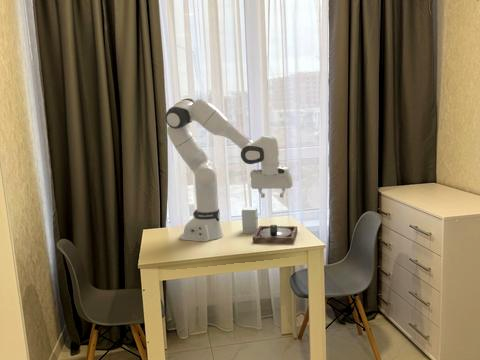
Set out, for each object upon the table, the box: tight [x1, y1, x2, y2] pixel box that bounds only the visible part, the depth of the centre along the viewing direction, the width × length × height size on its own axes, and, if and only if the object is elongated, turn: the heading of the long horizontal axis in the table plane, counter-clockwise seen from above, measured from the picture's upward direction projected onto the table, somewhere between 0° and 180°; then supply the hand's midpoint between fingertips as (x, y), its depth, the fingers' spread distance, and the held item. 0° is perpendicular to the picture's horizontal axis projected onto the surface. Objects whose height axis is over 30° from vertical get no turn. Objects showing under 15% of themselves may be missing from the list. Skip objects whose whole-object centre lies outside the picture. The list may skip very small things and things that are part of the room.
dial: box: [260, 224, 292, 237], centre depth 248 cm, size 16×16×7 cm
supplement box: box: [241, 206, 259, 234], centre depth 261 cm, size 7×7×13 cm
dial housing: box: [252, 225, 298, 245], centre depth 249 cm, size 20×20×3 cm
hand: (272, 197), depth 240 cm, fingers open, 8 cm apart
